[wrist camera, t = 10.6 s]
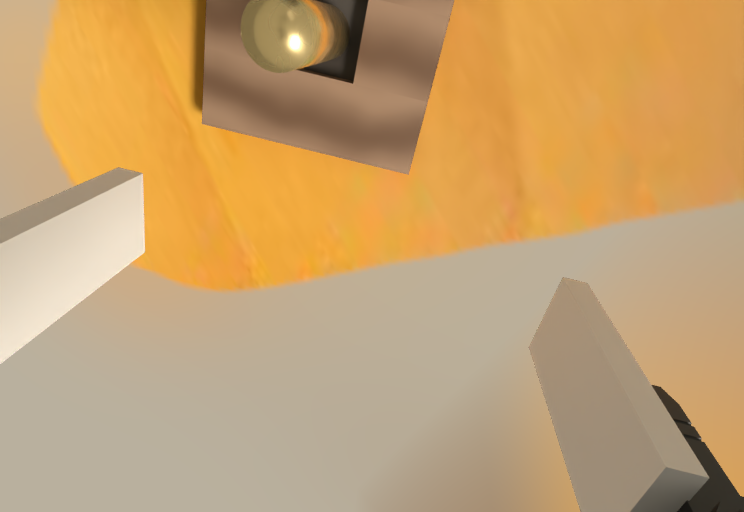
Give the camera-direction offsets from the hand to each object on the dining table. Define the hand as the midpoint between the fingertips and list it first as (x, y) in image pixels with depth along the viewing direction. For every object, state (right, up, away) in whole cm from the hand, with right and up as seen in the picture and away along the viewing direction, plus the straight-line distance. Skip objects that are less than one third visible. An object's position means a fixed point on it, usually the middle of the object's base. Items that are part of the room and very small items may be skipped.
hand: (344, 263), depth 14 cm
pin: (-3, +18, +21) cm, 28 cm away
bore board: (-3, +18, +21) cm, 28 cm away
